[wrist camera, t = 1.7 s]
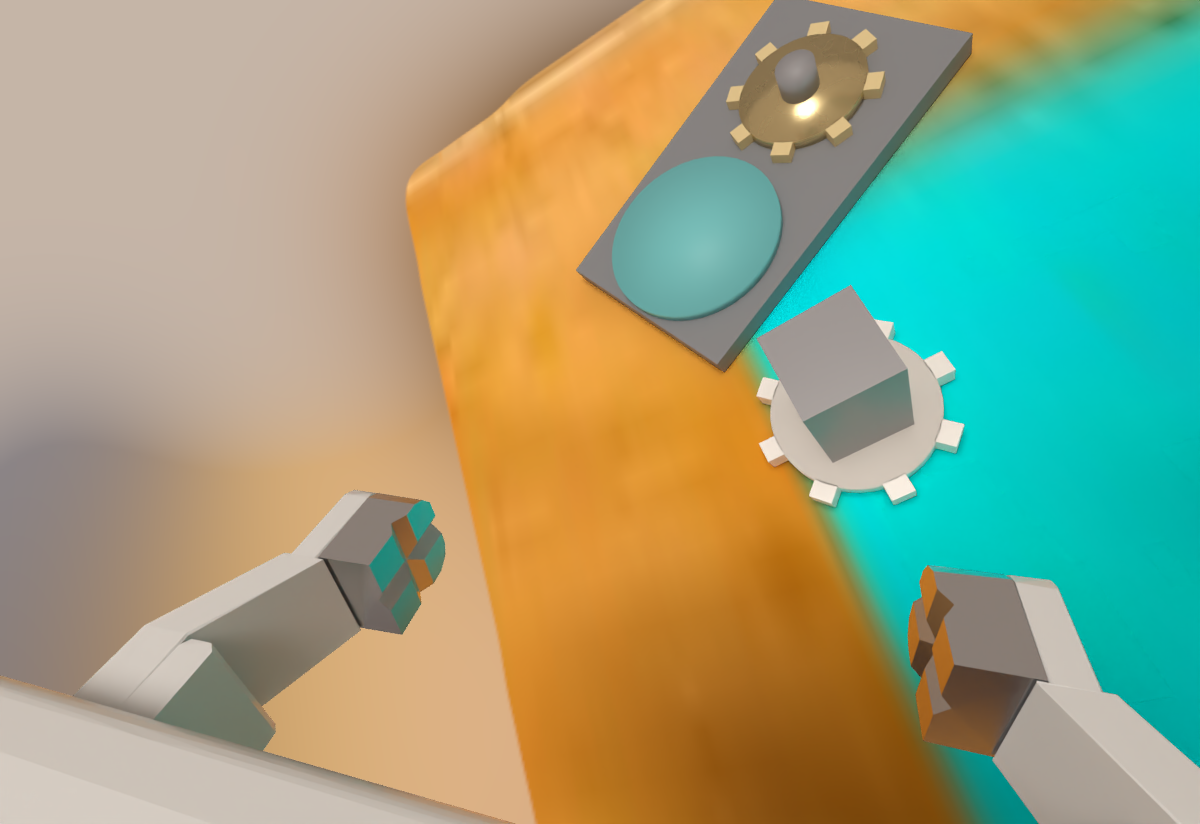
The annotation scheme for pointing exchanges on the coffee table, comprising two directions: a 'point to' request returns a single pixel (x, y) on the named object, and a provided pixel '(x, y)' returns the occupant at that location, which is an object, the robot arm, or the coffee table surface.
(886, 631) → the coffee table surface
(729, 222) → the gear board
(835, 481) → the loose gear
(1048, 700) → the robot arm
